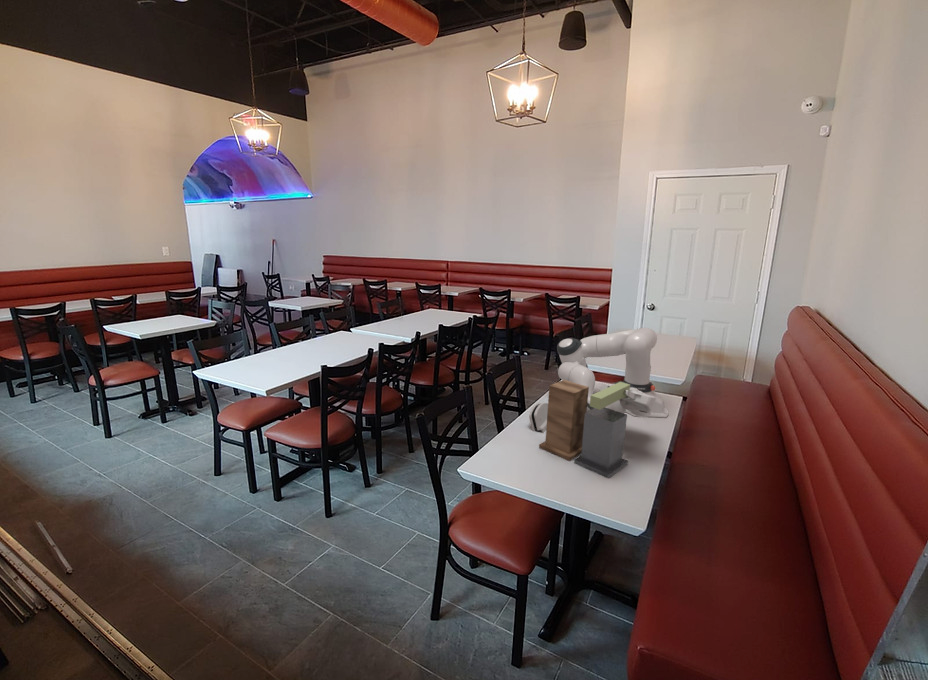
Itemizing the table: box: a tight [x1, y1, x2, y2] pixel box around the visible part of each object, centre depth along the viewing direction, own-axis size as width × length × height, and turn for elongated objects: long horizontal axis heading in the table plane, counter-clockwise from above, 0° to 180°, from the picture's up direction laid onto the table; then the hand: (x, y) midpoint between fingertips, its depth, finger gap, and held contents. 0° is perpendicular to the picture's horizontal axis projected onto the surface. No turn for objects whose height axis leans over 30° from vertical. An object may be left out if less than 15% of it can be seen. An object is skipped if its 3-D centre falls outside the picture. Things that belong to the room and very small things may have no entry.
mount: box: [573, 407, 629, 479], centre depth 162 cm, size 14×14×20 cm
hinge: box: [528, 402, 548, 434], centre depth 197 cm, size 17×5×10 cm, turn 151°
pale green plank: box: [590, 381, 630, 410], centre depth 160 cm, size 21×4×4 cm, turn 134°
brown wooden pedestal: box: [538, 379, 589, 462], centre depth 173 cm, size 14×14×26 cm
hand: (618, 390), depth 164 cm, fingers closed on pale green plank, 4 cm apart
